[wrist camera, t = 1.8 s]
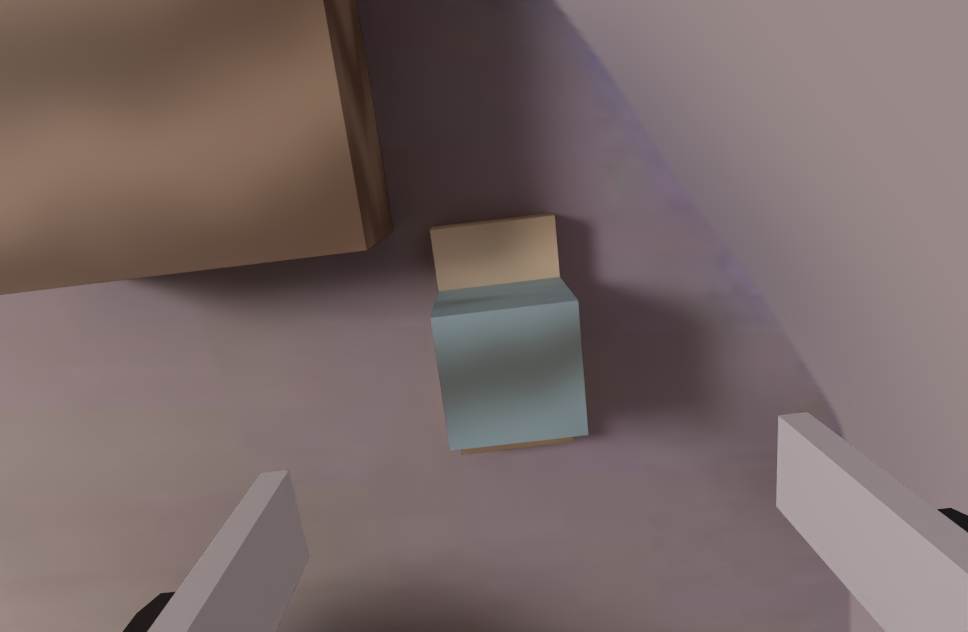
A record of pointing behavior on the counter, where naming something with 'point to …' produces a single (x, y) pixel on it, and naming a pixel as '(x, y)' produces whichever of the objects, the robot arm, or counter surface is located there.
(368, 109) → the dock
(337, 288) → the counter surface
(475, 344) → the blue cube on tile
